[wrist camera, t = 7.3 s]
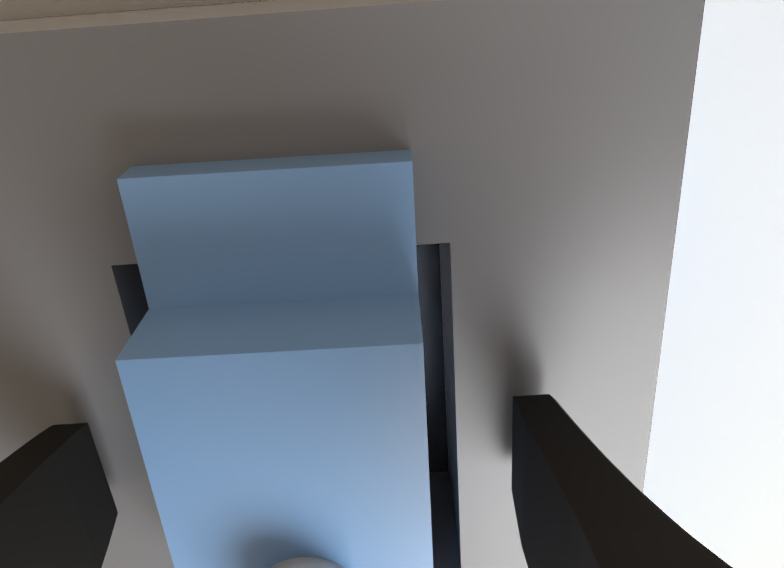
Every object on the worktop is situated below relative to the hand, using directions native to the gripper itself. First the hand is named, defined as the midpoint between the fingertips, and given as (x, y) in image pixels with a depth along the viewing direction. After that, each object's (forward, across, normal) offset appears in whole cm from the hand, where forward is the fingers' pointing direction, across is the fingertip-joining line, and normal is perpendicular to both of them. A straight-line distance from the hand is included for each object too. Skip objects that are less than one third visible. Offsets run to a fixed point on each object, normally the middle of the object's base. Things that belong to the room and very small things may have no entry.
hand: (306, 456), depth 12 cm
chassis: (+3, 0, 0) cm, 3 cm away
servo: (+3, 0, 0) cm, 3 cm away
